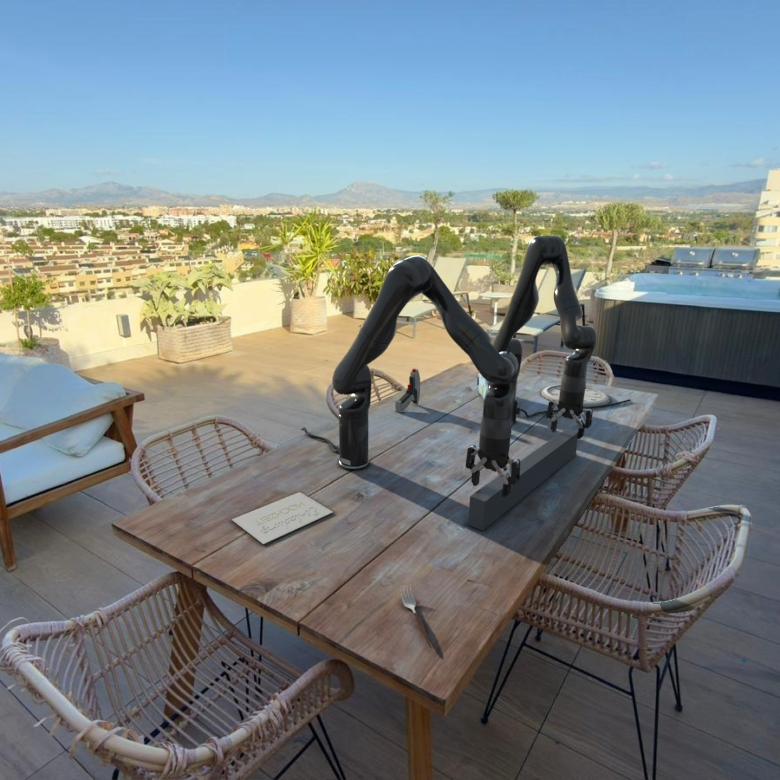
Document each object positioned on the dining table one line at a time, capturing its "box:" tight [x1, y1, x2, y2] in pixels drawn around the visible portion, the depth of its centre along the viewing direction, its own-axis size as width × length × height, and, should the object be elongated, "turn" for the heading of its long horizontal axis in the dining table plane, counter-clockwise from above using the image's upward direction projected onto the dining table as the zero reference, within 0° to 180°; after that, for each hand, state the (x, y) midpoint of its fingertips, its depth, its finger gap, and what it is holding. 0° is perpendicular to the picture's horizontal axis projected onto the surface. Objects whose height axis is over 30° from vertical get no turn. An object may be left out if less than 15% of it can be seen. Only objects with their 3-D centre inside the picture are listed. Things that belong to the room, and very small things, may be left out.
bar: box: [467, 428, 579, 532], centre depth 155 cm, size 62×4×8 cm, turn 140°
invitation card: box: [231, 491, 334, 545], centre depth 137 cm, size 21×1×15 cm
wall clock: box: [541, 384, 611, 407], centre depth 239 cm, size 30×2×30 cm
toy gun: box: [394, 367, 421, 413], centre depth 218 cm, size 2×16×15 cm
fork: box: [399, 584, 432, 649], centre depth 101 cm, size 3×16×2 cm, turn 16°
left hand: (490, 490), depth 135 cm, fingers open, 8 cm apart
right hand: (566, 434), depth 172 cm, fingers open, 8 cm apart
